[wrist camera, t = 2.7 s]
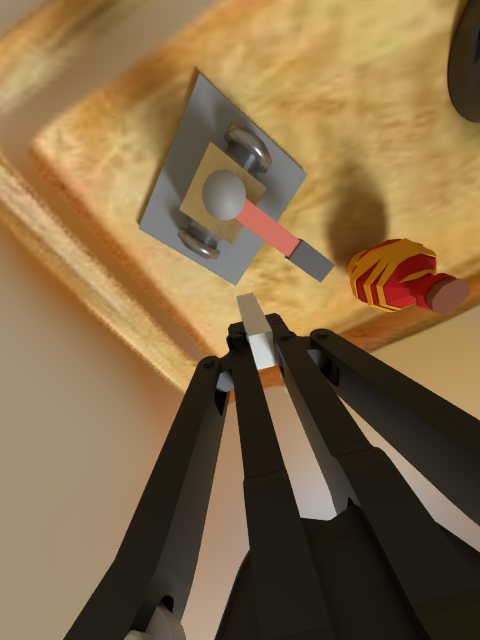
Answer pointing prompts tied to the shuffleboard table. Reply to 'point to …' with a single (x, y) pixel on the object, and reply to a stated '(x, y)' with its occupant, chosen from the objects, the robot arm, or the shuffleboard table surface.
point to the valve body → (246, 162)
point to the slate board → (181, 166)
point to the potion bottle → (404, 278)
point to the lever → (259, 222)
